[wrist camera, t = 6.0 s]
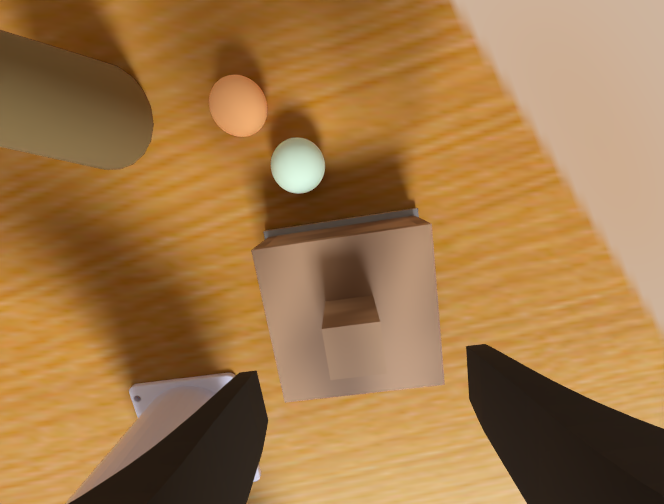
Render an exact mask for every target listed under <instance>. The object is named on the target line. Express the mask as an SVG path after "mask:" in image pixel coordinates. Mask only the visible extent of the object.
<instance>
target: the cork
mask: <svg viewBox="0 0 664 504" xmlns="http://www.w3.org/2000/svg"><path fill="white" fill-rule="evenodd" d="M152 131H153V118H152V111H151V106H150V104H149V102H148V100H147V97H146V95H145V93H144V91H143V89H142V88H141V87H140V86H139V85H138V83H137V82H136V81H135V80H134V78H133V77H132V76H130V75H129V74H128V73H126V72H125V71H123V70H122V69H121V68H119V67H118V66H115V65H112V64H109V63H105V62H102V61H99V60H96V59H93V58H89V57H86V56H83V55H80V54H77V53H73V52H70V51H67V50H64V49H60V48H57V47H54V46H51V45H48V44H44V43H41V42H38V41H35V40H31V39H28V38H25V37H22V36H19V35H15V34H12V33H9V32H6V31H2V30H0V147H3V148H8V149H12V150H17V151H22V152H26V153H31V154H35V155H40V156H45V157H49V158H54V159H58V160H63V161H68V162H72V163H77V164H81V165H86V166H91V167H95V168H100V169H104V170H110V169H122V168H124V167H127V166H130V165H132V164H134V163H135V162H136V161H137V160H138V159H139V158H140V157H142V156H143V155H144V153H145V151H146V149H147V147H148V146H149V144H150V142H151V137H152Z"/></svg>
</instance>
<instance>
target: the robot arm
mask: <svg viewBox="0 0 664 504" xmlns="http://www.w3.org/2000/svg"><path fill="white" fill-rule="evenodd" d="M466 350H467V367H468V385H469V399H470V402H471V404H472V406H473V409H474V411H475V413H476V415H477V418H478V420H479V422H480V424H481V426H482V428H483V430H484V432H485V434H486V435H487V437H488V439H489V441H490V442H491V444H492V446H493V447H494V449H495V451H496V452H497V454H498V456H499V457H500V459H501V461H502V462H503V464H504V466H505V467H506V469H507V471H508V472H509V474H510V476H511V477H512V479H513V481H514V482H515V484H516V486H517V487H518V489H519V491H520V492H521V494H522V496H523V497H524V499H525V501H526V502H527V504H664V429H663V428H660V427H657V426H654V425H652V424H649V423H646V422H644V421H641V420H639V419H636V418H634V417H631V416H629V415H626V414H624V413H622V412H619V411H617V410H614V409H612V408H610V407H607V406H605V405H602V404H600V403H598V402H596V401H594V400H591V399H589V398H587V397H585V396H583V395H581V394H579V393H577V392H574V391H572V390H570V389H568V388H566V387H564V386H562V385H560V384H558V383H556V382H554V381H552V380H550V379H548V378H547V377H545V376H543V375H541V374H539V373H537V372H535V371H533V370H532V369H530V368H528V367H526V366H524V365H523V364H521V363H519V362H517V361H515V360H514V359H512V358H510V357H508V356H506V355H505V354H503V353H501V352H499V351H498V350H496V349H494V348H492V347H490V346H488V345H486V344H481V345H473V346H466ZM129 394H130V397H131V399H132V402H133V405H134V408H135V411H136V414H137V417H138V419H137V420H136V421H135V422H134V424H133V425H132V426H131V427H130V428H129V429H128V431H127V432H126V433H125V434H124V435H123V437H122V438H121V439H120V440H119V441H118V442H117V444H116V445H115V446H114V447H113V448H112V449H111V451H110V452H109V453H108V454H107V455H106V456H105V458H104V459H103V460H102V461H101V462H100V463H99V465H98V466H97V467H96V468H95V469H94V471H93V472H92V473H91V474H90V475H89V476H88V478H87V479H86V480H85V481H84V482H83V483H82V485H81V486H80V487H79V488H78V489H77V490H76V492H75V493H74V494H73V495H72V496H71V497H70V499H69V500H68V501H67V502H66V503H65V504H246V503H247V500H248V496H249V493H250V490H251V487H252V484H253V482H255V481H258V480H259V479H260V476H261V470H260V466H259V461H260V458H261V454H262V451H263V446H264V441H265V435H266V430H267V424H268V417H267V413H266V409H265V405H264V400H263V396H262V392H261V388H260V383H259V379H258V375H257V371H249V372H241V373H239V374H237V375H235V374H233V373H221V374H213V375H204V376H196V377H188V378H179V379H171V380H163V381H155V382H146V383H138V384H134V385H133V386H132V387H131V388H130V389H129ZM137 396H139V397H140V398H138V397H137Z"/></svg>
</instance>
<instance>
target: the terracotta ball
mask: <svg viewBox="0 0 664 504" xmlns="http://www.w3.org/2000/svg"><path fill="white" fill-rule="evenodd" d="M209 108H210V112H211V115H212V117H213V119H214V121H215V122H216V124H217V125H218V126H219V127H220V128H221V129H222V130H224V131H225V132H227V133H228V134H231V135H233V136H238V137H246V136H250V135H253V134H255V133H256V132H258V131H259V130H260V129H261V128H262V126H263V125H264V123H265V121H266V118H267V112H268V108H267V102H266V98H265V95H264V94H263V92H262V90H261V89H260V87H259V86H258V85H257V84H256V83H255V82H253V81H252V80H251V79H249V78H247V77H244V76H241V75H228V76H225V77H223V78H221V79H219V80H218V81H217V82H216V83H215V84H214V86H213V88H212V90H211V92H210V96H209Z"/></svg>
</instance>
